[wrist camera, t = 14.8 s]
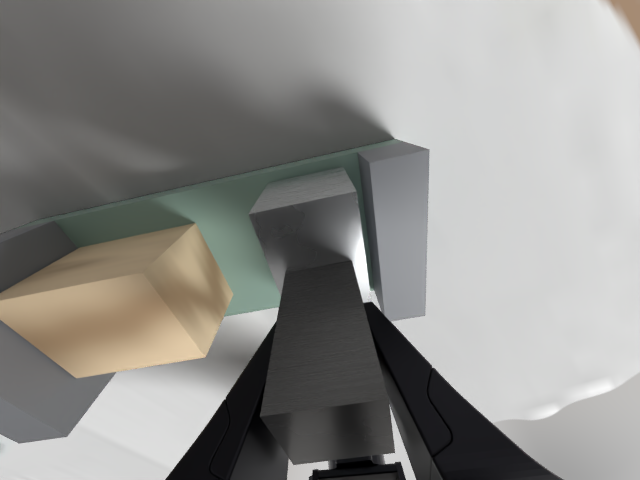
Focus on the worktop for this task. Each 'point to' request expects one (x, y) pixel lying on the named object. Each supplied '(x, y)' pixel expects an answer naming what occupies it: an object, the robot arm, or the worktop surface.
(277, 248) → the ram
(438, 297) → the worktop surface
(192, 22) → the worktop surface
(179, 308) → the block
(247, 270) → the press frame
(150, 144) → the worktop surface
